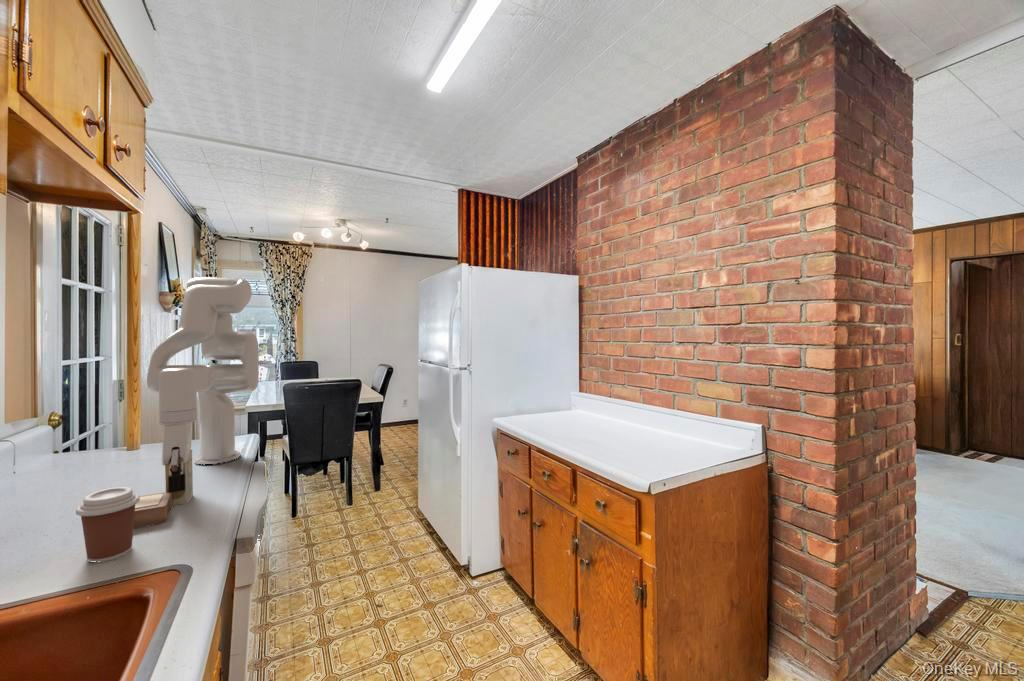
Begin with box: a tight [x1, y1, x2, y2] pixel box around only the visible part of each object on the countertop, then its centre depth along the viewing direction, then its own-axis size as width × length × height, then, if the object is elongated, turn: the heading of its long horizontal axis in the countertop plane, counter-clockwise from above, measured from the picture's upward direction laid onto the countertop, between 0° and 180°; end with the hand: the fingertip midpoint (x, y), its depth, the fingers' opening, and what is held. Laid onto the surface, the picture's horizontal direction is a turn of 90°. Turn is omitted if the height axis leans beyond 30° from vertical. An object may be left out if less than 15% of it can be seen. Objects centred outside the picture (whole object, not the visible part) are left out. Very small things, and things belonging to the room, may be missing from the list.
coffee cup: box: [75, 486, 140, 562], centre depth 83 cm, size 9×9×12 cm
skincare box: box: [164, 449, 194, 506], centre depth 108 cm, size 6×4×12 cm
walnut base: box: [133, 491, 174, 529], centre depth 98 cm, size 10×10×4 cm
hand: (179, 485), depth 108 cm, fingers closed on skincare box, 6 cm apart
